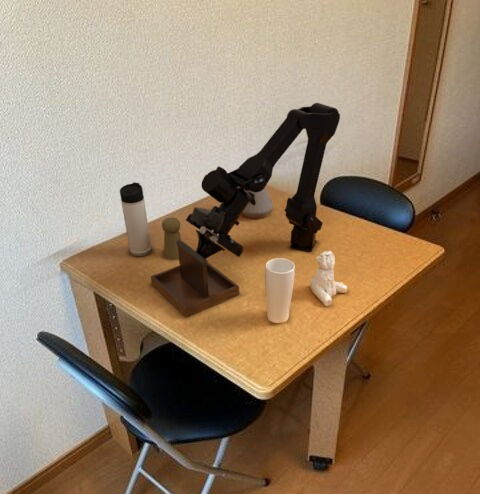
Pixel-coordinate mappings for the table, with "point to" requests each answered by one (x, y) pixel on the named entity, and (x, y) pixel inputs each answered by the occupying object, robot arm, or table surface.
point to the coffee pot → (259, 205)
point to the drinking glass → (279, 288)
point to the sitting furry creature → (326, 279)
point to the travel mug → (135, 219)
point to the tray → (193, 283)
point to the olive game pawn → (171, 237)
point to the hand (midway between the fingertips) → (195, 262)
